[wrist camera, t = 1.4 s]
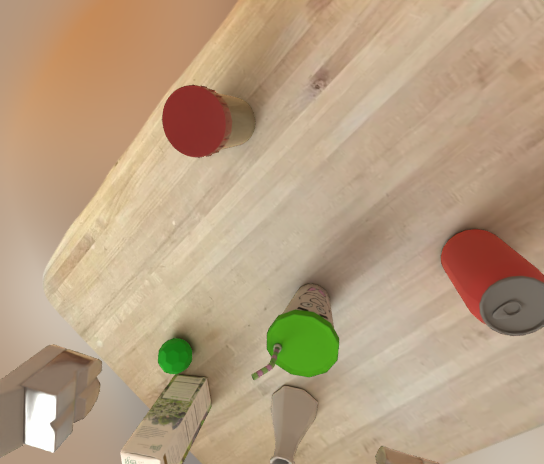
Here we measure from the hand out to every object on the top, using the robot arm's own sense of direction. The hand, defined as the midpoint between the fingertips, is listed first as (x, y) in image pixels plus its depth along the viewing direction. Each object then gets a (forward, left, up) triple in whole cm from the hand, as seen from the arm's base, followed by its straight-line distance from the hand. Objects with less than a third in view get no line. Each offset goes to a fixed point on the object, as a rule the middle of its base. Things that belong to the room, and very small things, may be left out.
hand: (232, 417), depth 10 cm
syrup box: (+36, +14, -34) cm, 51 cm away
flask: (+23, +24, -34) cm, 47 cm away
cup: (+10, +11, -34) cm, 37 cm away
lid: (+4, -13, -23) cm, 27 cm away
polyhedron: (+32, +7, -34) cm, 47 cm away
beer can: (-9, +16, -34) cm, 38 cm away
